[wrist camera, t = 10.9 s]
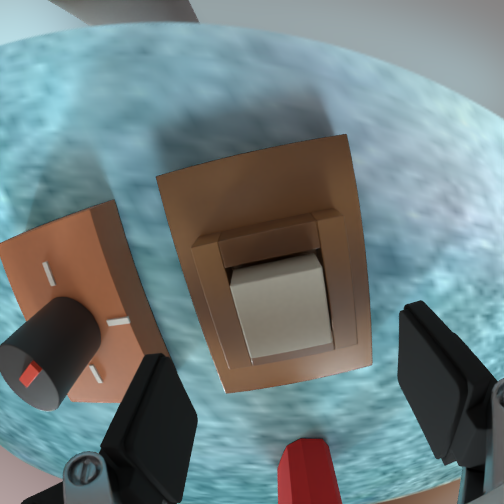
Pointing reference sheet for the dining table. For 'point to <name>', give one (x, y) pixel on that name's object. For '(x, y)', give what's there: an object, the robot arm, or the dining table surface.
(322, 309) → the key
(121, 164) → the dining table surface
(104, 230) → the volume box
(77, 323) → the volume knob
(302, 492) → the french fries
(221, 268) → the stepped nested square plaque
